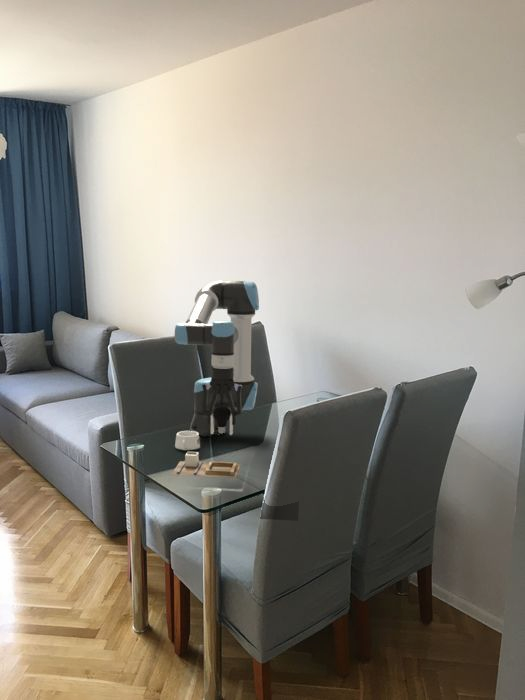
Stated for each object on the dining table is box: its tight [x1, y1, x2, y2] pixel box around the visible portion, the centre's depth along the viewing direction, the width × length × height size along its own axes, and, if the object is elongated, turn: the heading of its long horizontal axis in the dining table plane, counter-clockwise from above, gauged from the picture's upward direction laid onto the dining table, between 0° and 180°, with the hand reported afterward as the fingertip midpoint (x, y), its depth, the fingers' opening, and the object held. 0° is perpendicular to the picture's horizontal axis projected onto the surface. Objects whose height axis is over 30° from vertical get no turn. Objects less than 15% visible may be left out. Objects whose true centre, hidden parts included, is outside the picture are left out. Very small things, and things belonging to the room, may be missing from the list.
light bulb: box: [213, 405, 232, 435], centre depth 204 cm, size 6×6×10 cm
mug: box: [174, 430, 201, 451], centre depth 231 cm, size 12×10×6 cm
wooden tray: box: [170, 460, 241, 478], centre depth 207 cm, size 14×22×2 cm, turn 86°
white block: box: [184, 451, 200, 467], centre depth 210 cm, size 4×4×5 cm
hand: (221, 433), depth 205 cm, fingers closed on light bulb, 6 cm apart
